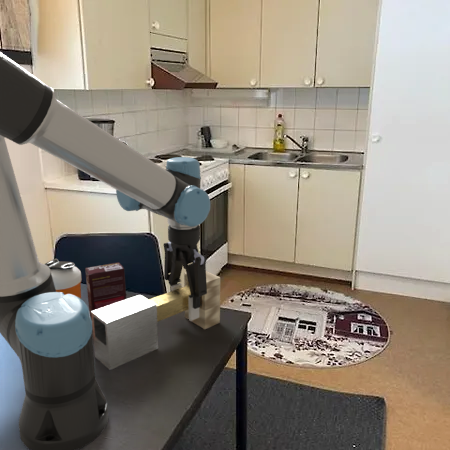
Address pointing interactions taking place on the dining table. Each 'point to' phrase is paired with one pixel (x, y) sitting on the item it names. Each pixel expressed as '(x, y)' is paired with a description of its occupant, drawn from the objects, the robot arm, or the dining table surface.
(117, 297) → the supplement box
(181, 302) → the yellow square bar
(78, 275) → the shaker bottle
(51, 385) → the robot arm
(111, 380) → the dining table surface
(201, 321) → the socket
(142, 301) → the sleeve
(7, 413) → the dining table surface
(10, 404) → the dining table surface
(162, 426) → the dining table surface
